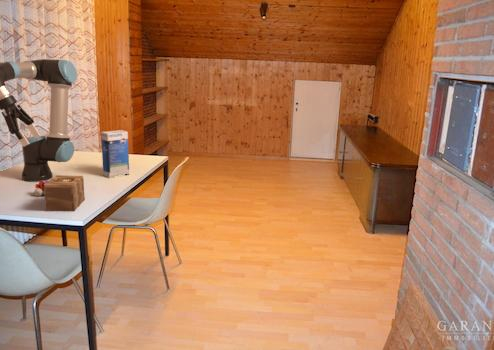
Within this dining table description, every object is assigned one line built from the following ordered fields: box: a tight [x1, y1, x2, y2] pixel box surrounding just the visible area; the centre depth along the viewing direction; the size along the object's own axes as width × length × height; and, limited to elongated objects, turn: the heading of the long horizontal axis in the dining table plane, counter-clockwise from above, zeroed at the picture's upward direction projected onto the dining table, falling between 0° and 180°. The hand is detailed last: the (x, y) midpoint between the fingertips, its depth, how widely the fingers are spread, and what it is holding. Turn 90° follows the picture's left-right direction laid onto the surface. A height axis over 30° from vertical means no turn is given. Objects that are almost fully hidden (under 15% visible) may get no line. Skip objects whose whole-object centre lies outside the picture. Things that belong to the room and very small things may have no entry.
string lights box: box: [100, 129, 130, 179], centre depth 244 cm, size 13×8×26 cm, turn 137°
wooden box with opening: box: [43, 174, 85, 212], centre depth 191 cm, size 16×12×12 cm
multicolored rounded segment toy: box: [33, 180, 49, 197], centre depth 206 cm, size 8×10×7 cm
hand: (32, 141), depth 189 cm, fingers open, 13 cm apart
